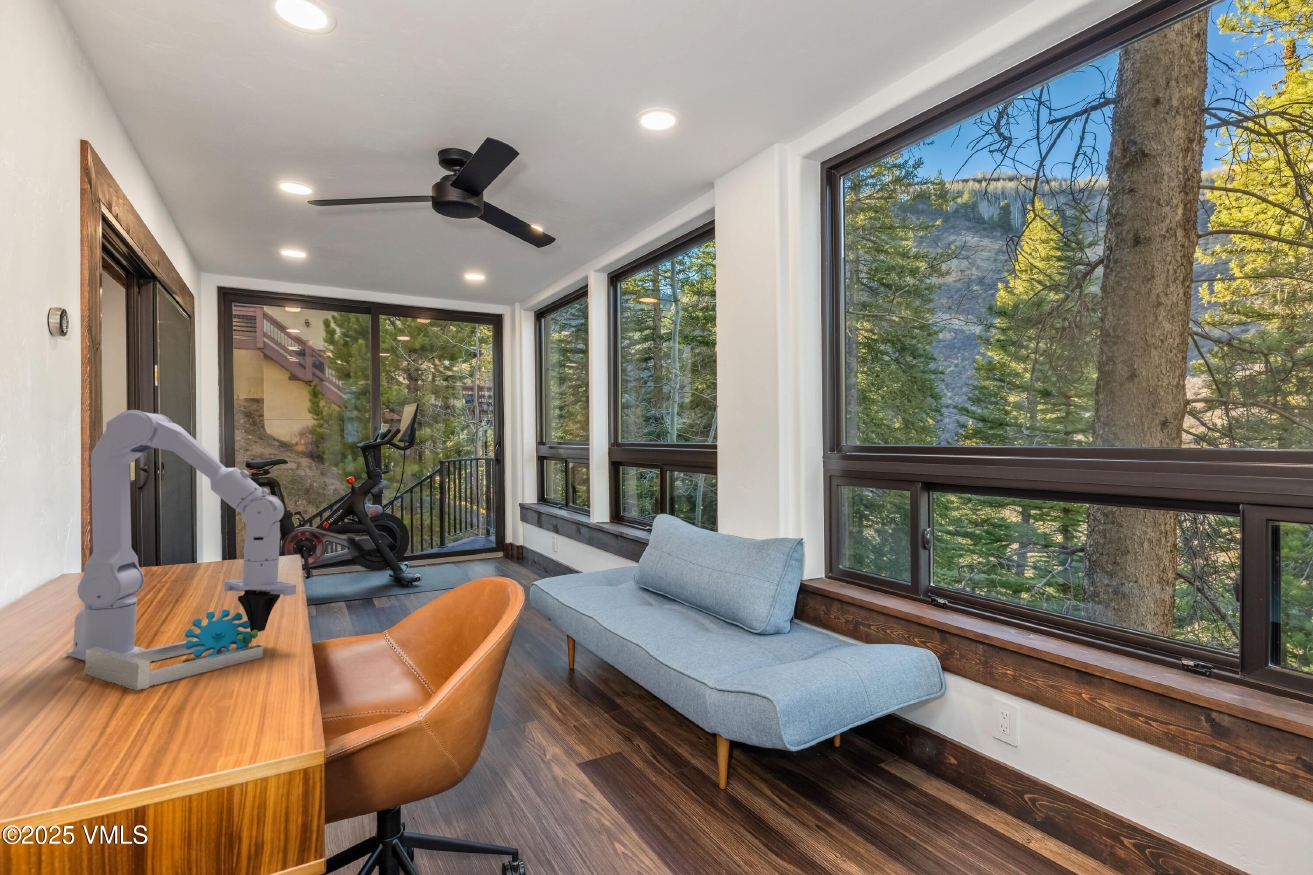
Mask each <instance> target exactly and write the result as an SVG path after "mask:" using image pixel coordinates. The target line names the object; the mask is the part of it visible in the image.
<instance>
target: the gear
mask: <svg viewBox="0 0 1313 875" xmlns="http://www.w3.org/2000/svg"><path fill="white" fill-rule="evenodd" d="M230 614H231V611H230V610H229V609H224V608H223V609H222V611H221V614H220V616H219V617H218V618H217V619H216V620H214V618H215V616H216V613H215V611H209V612H206V614H205V615H206V620H207V623H206V624H205V625H202V619H201V618H200V617H198V618H196V619H194V620H193V621H192V626H193V627H195V628H197V629H198V630H199V632H198V633H196V632H195V631H194V629H193V628H188V629H186V631H185V633H184V637H185V638H187V639H188V638H193V639H199V640H200V641H198V642H194V641H192V639H188V640H186V641H187V642H186V649H191V648H193V647H196V646H204V647H205V648H203V649H195V650H194V651H193V653H192V654H193V656H194V658H196V659H200V658H201V657H202V656H203V654H205V653H206V652H208V651H210V652H209V653H207V655H206V657H210V656H214V655H218V654H219V652H220V651H222V649H225V650H224V651H223V652H222V653H226V652H231V651H232V650H231V649H230V648H231V645H234V646H235V650H239V649H243V648H247V647H250V644H251V643H252V642H253V639H256V638H258V635H259V632H258V630H253V631H252V632H251V631H250V630H247V629H250V627H249V626H250V622H249V621H248V619H247V620H244V621H242V620H243V617H244V616H243V614H242V613H241V612H236V613H235V614H234V615H233V616H232V617H230V618H228V617H229V616H230ZM226 618H227V619H226ZM239 621H242V622H239ZM239 628H242V629H244V630H245V631H243V630H240V629H239ZM246 630H247V631H246ZM211 650H214V651H212V652H211Z"/></svg>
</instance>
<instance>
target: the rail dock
mask: <svg viewBox="0 0 1313 875" xmlns="http://www.w3.org/2000/svg"><path fill="white" fill-rule="evenodd" d="M191 640H192V641H194V642H198V641H200V640H199V639H197V638H193V639H191ZM187 641H188V640H184V641H179V642H175V643H170V644H165V645H160V646H155V647H150V648H147V649H146V648H145V650H141V651H136V652H131V653H127V654H121V653H118V652H114V651H110V650H107V649H103V648H100V647H94V648H89V649H86V661H84V662H85V664H84V665H85V666H84V675H86V674H87V676H90V677H92V678H96V679H98V680H102V681H106V682H108V683H111V682H112V683H111V684H114V683H116V684H115V685H117V684H118V685H117V686H121V685H123V686H122V687H124V686H125V687H124V688H127V689H129V690H133V689H134V691H137V692H138V690H139V691H141V689H143V690H145V689H149V688H150V687H154V686H158V685H162V684H165V682H166V683H169V682H173V681H177V680H181V679H184V678H188V677H193V676H196V675H199V674H203V673H208V672H211V671H216V670H219V669H222V668H227V667H231V666H235V665H238V664H242V663H247V662H250V661H253V660H258V659H261V658H263V657H264V646H263V645H261V644H256V645H251V646H249V647H247V648H243V649H239V650H236V649H235V650H231V652H226V653H223V652H222V653H217V654H216V655H214V656H210V657H207V656H206V657H203V658H201V657H200V658H196V659H194V660H190V661H186V662H181V663H177V664H174V665H173V664H172V665H169V666H165V667H161V668H156V669H153V670H150V669H151V668H150V667H151V663H153V662H152V661H154V662H158V661H162V660H165V659H166V658H167V659H171V658H175V657H178V656H179V657H180V656H183V655H189V654H193V651H194V650H195V649H203V648H205V647H204V646H196V647H193V648H191V649H186V642H187ZM170 657H171V658H170ZM153 685H154V686H153Z"/></svg>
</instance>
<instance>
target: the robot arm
mask: <svg viewBox="0 0 1313 875" xmlns="http://www.w3.org/2000/svg"><path fill="white" fill-rule="evenodd" d="M153 449H160V450H165V451H170V452H173V453H175V455H178V456H179V458H181V459H183V460H184V461H185V462H187V463H188V464H189V465H190V466H192V467H193V468H194V469H196V470H197V471H198V472H200V473H201V474H203V475H204V476H206V477H207V479H209V481H210V490H211V491H212V492H213V493H214V494H216V495H217V496H218V497H220V498H221V499H222V500H223V501H224V502H225V503H227V504H228V505H229V506H230V507H232V508H233V509H234V510H236V512H239V513H240V514H241V515H240V516H241V520H242V521H243V522H244V524H245V535H244V548H243V550H244V552H243V567H242V568H243V571H242V579H234V578H233V579H229V580H224V585H223V586H224V587H223V588H224V589H223V592H231V591H233V592H241V593H242V592H243V595H242V594H241V595H239V596H237V601H238V602H239V603H240V605H241V608H242V609H243V610H244V613H245V615H246V618H247V620H248V621H249V622H250V626H249V629H250V630H249V631H250V632H252V631H253V630H258V633H260V632H263V631H266V627H267V625H268V621H269V618H270V616H271V613H272V611H273V609H274V607H275V605H276V604H277V602H278V600H279V599H280V598H281V595H283V596H284V597H288V596H289V597H290V596H294V595H296V594H297V583H291V582H290V583H289V582H287V581H286V582H285V581H281V580H278V579H279V562H280V560H279V558H280V541H281V540H280V539H281V535H280V530H281V527H280V526H281V521H280V520H281V519H282V518H283V516H284V515H285V507H284V504H283V502H282V501H281V500H280V499H279V497H278V496H276V495H272V494H269V492H270V491H269V490H268V489H267V488H262V487H260V486H259V485H258V484H257V483H256V482H255V481H253V480H252V479H251V478H250V477H249V476H250V473H249V471H247V470H246V469H242V470H241V469H239V468H238V467H226V466H225V465H223V463H221V462H220V461H219V460H218V459H217V458H216V457H215V456H214V455H213V454H212V453H210V451H208V450H207V449H206V448H205V447H204V446H202V444H200V443H199V442H198V440H196V439H195V438H194V437H193V436H192V435H191V434H189V433H188V431H186V430H185V429H184V428H183V427H182V426H181V425H179V424H177V423H175V422H173V421H172V420H171V419H170V418H169V417H168V416H166V415H164V414H162V413H161V414H160V413H153V412H152V413H150V412H144V411H141V410H139V409H138V410H137V409H129V410H125V411H122V412H121V413H119V414H117V415H115V416H114V417H113V418H111V419H110V420H108V421H106V424H105V431H104V433H103V434H102V435H101V437H100V438H99V440H98V442H96V444H95V447H94V448H93V449H92V451H91V453H90V454H91V455H90V469H91V470H90V477H91V519H92V520H91V521H92V522H91V523H92V530H91V531H92V554H91V555H90V557H89V558H88V560H87V561H86V563H85V564H84V566H83V575H82V576H83V577H82V579H81V580H80V582H79V583H78V586H77V595H78V598H79V599H80V600H81V602H82V603H83V604H84V607H82V608H81V609H80V610H79V611H78V612H77V613H76V616H75V620H74V630H73V646H72V647H73V648H72V650H71V651H67V652H66V653H65V655H66V656H68V657H71V658H75V659H79V660H81V661H84V662H85V661H86V649H89V648H94V647H100V648H103V649H107V650H110V651H114V652H118V653H121V654H127V653H131V652H136V651H141V650H146V648H143V647H139V646H135V645H136V644H135V643H136V624H137V610H138V608H137V607H138V598H137V594H138V593H139V592H140V591H141V589H142V588H143V586H144V584H145V574H144V572H143V570H142V569H141V568H140V565H139V557H138V555H137V554H136V552H135V550H133V548H132V519H131V518H132V515H131V512H132V510H131V476H130V475H131V474H130V473H131V472H130V469H131V468H130V465H131V463H132V462H134V461H135V460H136V459H138V458H140V456H142V455H144V453H146V452H148V451H151V450H153Z"/></svg>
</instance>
